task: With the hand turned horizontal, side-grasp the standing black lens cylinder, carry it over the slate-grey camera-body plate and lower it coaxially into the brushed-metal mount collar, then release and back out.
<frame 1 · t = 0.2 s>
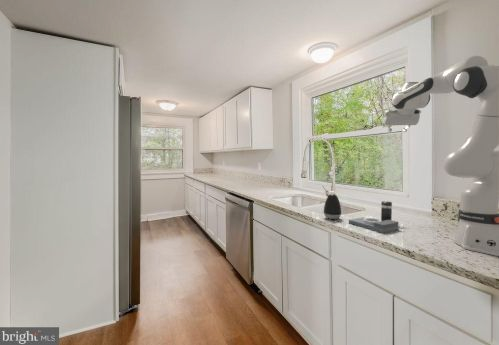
hand: (396, 131, 149), 53 cm above the worktop, tool tilted 25°, fingers open, 8 cm apart
pump dispenser: (332, 219, 141), on the worktop
lens: (386, 223, 130), on the worktop
mount: (372, 226, 124), on the worktop
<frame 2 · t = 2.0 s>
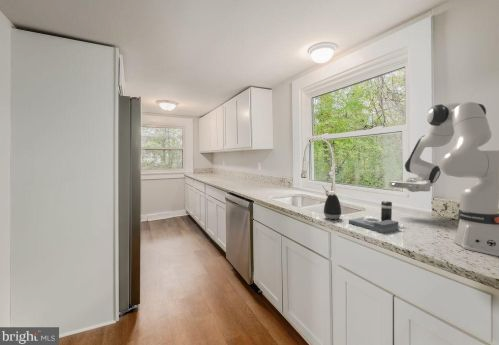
hand: (400, 186, 135), 20 cm above the worktop, tool horizontal, fingers open, 8 cm apart
nothing on the worktop moved.
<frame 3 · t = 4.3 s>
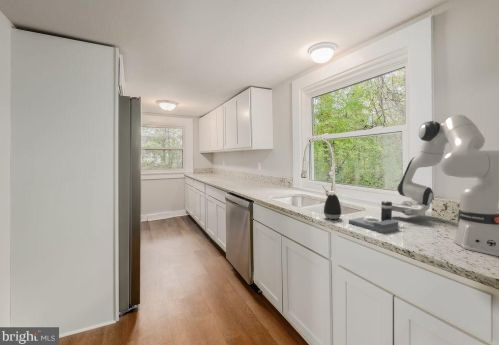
hand: (395, 210, 133), 7 cm above the worktop, tool horizontal, fingers open, 8 cm apart
nothing on the worktop moved.
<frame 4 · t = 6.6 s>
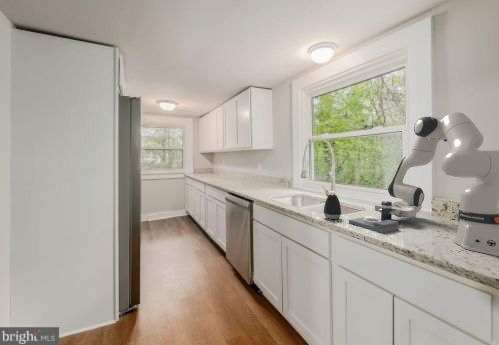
hand: (385, 211, 129), 7 cm above the worktop, tool horizontal, fingers closed on lens, 5 cm apart
lens: (386, 223, 130), on the worktop, touching gripper
everything else where it was.
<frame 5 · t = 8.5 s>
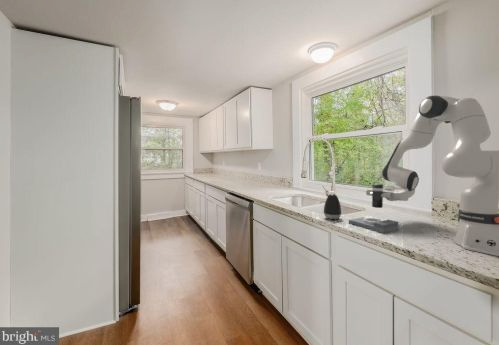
hand: (376, 194, 125), 17 cm above the worktop, tool horizontal, fingers closed on lens, 5 cm apart
lens: (377, 206, 125), point 10 cm above the worktop, touching gripper
everything else where it was.
when the fingers open (10 cm above the worktop, at t = 11.0 s): lens stays where it is, resting on mount.
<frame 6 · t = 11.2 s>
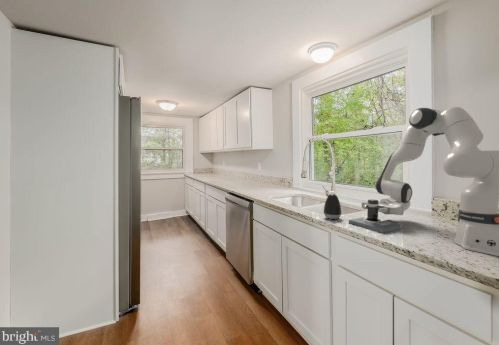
hand: (371, 208, 123), 10 cm above the worktop, tool horizontal, fingers open, 7 cm apart
lens: (372, 222, 124), point 2 cm above the worktop, touching mount
everything else where it was.
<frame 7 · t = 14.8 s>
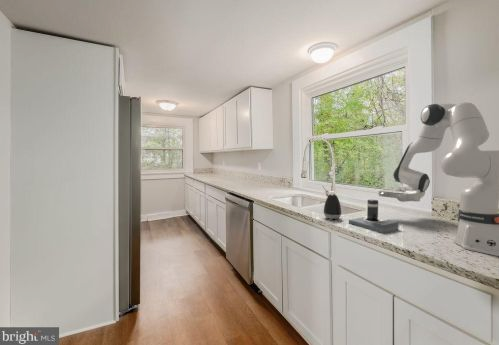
hand: (389, 195, 130), 15 cm above the worktop, tool horizontal, fingers open, 8 cm apart
nothing on the worktop moved.
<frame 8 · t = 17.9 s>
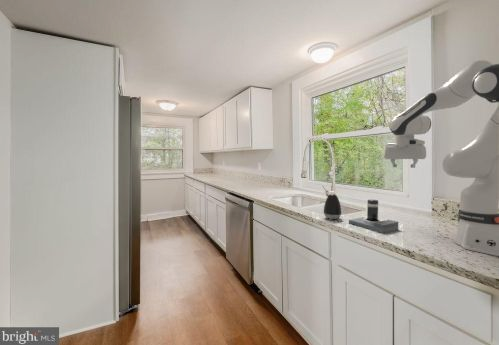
hand: (403, 167, 128), 31 cm above the worktop, tool pointing down, fingers open, 8 cm apart
nothing on the worktop moved.
at the end: lens 0.0 cm off-centre on the mount, point 2.0 cm above the mount's base; lens tilted 0°; the gripper is holding nothing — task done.
